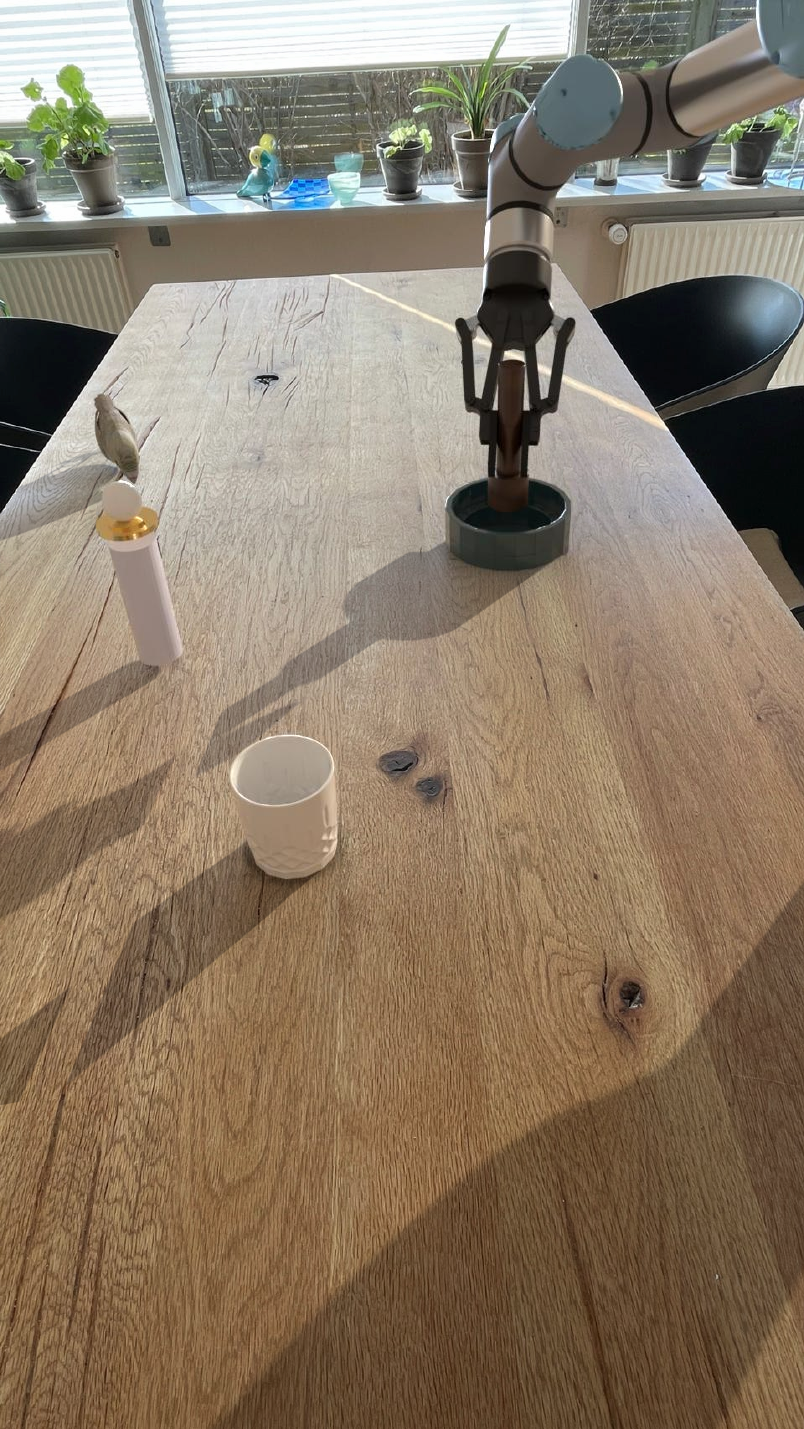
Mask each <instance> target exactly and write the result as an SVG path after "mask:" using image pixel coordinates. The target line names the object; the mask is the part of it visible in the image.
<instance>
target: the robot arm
mask: <svg viewBox="0 0 804 1429" xmlns="http://www.w3.org/2000/svg"><path fill="white" fill-rule="evenodd" d="M803 98H804V0H756V18H754V19H752V20H750V21H748V22H746V23H744V24H742V25H740V26H738V27H736V28H734V29H732V30H730V31H729V32H726V33H724V34H723V35H721V36H719V37H717V38H715V39H714V40H713V39H712V41H709V42H708V43H706V44H703V45H702V46H699V47H698V48H696V49H693V50H692V51H690V52H688V53H687V54H685V55H683V56H681V57H679V58H678V59H675V60H673V61H672V62H669V63H667V64H665V65H662V66H660V67H655V68H649V69H643V70H636V71H626V72H616V71H615V70H614V69H613V67H612V66H611V65H610V64H609V63H608V62H607V61H605V60H604V59H602V58H600V59H597V58H595V57H593V56H592V55H591V54H588V53H578V54H575V55H572V56H569V57H568V58H566V59H565V60H563V61H562V62H561V63H560V64H559V66H558V67H557V68H556V70H555V71H554V72H553V73H552V74H551V76H550V77H549V78H547V80H546V81H545V83H543V85H541V87H540V88H539V91H538V92H537V95H536V97H535V98H534V100H533V102H532V104H530V107H529V108H528V110H527V111H526V113H519V114H515V115H513V116H511V117H510V118H509V119H508V120H507V121H501V122H500V124H498V126H497V127H496V128H495V130H494V131H493V134H492V137H491V140H490V141H491V142H490V149H489V154H488V159H487V164H488V165H487V175H488V176H487V179H488V180H487V198H486V199H487V200H486V220H485V221H486V223H485V234H484V253H483V254H484V256H483V262H484V267H483V275H482V276H483V278H482V292H481V303H480V305H479V306H478V308H477V310H476V314H475V315H472V316H471V317H469V318H466V319H465V318H464V317H458V318H456V319H455V321H454V326H455V327H454V328H455V335H456V337H457V340H458V342H459V344H460V347H461V363H462V383H463V384H462V385H463V386H462V387H463V401H464V402H463V403H464V409H465V411H466V413H473V414H476V415H478V417H479V426H478V441H479V443H480V444H479V445H481V446H488V450H487V452H488V454H487V457H488V458H487V478H488V477H495V470H496V456H497V415H498V409H494V405H495V400H496V394H497V392H498V365H499V363H500V362H501V361H504V357H505V353H506V352H509V351H512V350H515V351H520V352H523V360H524V361H523V362H524V363H525V381H526V390H527V399H528V409H529V410H528V409H524V410H523V428H522V449H521V470H520V478H527V473H528V469H529V452H530V451H529V449H530V447H534V446H535V447H538V446H539V444H540V440H541V424H542V423H541V422H542V418H543V417H544V415H547V414H555V413H556V412H557V411H558V409H559V403H560V402H559V401H560V396H561V395H560V394H561V388H562V383H563V382H562V381H563V375H564V368H565V363H566V362H565V361H566V355H567V348H568V347H569V346H570V343H571V342H572V339H573V338H574V336H575V332H576V324H577V323H576V319H575V318H574V317H572V316H570V317H567V318H566V319H565V318H563V317H561V316H559V315H557V314H556V313H555V312H556V311H555V309H554V307H553V305H552V302H551V300H552V279H553V267H552V264H553V254H554V238H555V236H554V235H555V212H556V198H557V195H558V193H559V192H560V190H561V189H562V188H563V186H565V185H566V184H567V182H568V181H569V180H570V179H571V177H572V176H573V175H574V174H576V172H577V170H578V169H579V168H580V167H581V166H583V165H586V164H591V163H597V162H602V161H610V160H614V159H620V158H621V159H622V158H627V157H633V156H638V155H644V154H645V155H646V154H652V153H658V152H659V153H660V152H666V151H680V150H681V151H682V150H686V149H690V148H694V147H696V146H699V145H702V144H705V143H708V142H709V141H711V140H712V139H714V137H716V135H717V133H718V132H719V130H722V129H725V128H727V127H731V126H733V125H735V124H738V123H740V122H742V121H745V120H748V119H751V118H752V117H756V116H758V115H761V114H763V113H766V112H768V111H771V110H774V109H776V108H779V107H781V106H784V105H786V104H789V103H791V102H794V101H798V100H800V99H803ZM479 328H480V329H481V331H482V332H483V333H484V335H485V336H486V338H487V339H488V341H489V342H490V343H491V347H490V348H491V349H490V353H489V359H488V364H487V369H486V373H485V379H484V384H483V388H482V394H481V397H477V396H476V381H475V380H476V379H475V378H476V377H475V359H474V357H475V355H474V344H473V341H474V340H475V339H476V338H477V336H478V333H477V332H478V329H479ZM550 328H552V338H553V339H554V340H555V343H554V344H555V345H554V351H553V359H552V364H551V371H550V377H549V383H548V384H549V385H548V392H547V397H544V398H542V394H541V385H540V376H539V375H540V374H539V368H538V367H539V366H538V357H537V344H538V343H539V341H540V340H541V339H542V338H543V337H544V335H545V334H546V333H547V332H548V331H549V329H550Z"/></svg>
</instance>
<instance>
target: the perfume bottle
mask: <svg viewBox="0 0 804 1429" xmlns="http://www.w3.org/2000/svg"><path fill="white" fill-rule="evenodd" d="M142 498H143V497H142V495H141V492H140V491H139V489H138V488H137V487H136V486H135V485H133V483H131V482H128V481H126V480H117V481H112V482H111V483H109V484H108V485H107V486H106V487H105V488H104V489H103V490H102V494H101V500H100V501H101V506H102V509H103V511H104V514H103V515H101V516H100V517H99V518H98V519H97V520H96V523H95V529H96V532H97V535H98V536H99V537H100V538H101V539H103V540H106V541H107V547H108V551H109V554H110V558H111V561H112V565H113V569H114V573H115V576H116V580H117V583H118V587H119V590H120V594H121V597H122V601H123V606H124V609H125V612H126V616H127V619H128V622H129V626H130V630H131V633H132V637H133V641H134V644H135V649H136V651H137V655H138V658H139V661H140V662H141V663H143V664H144V665H147V666H151V667H159V666H164V665H165V666H166V665H168V664H170V663H174V661H177V659H179V658H180V657H181V656H182V654H183V651H184V648H183V643H182V640H181V636H180V631H179V627H178V622H177V619H176V614H175V610H174V606H173V601H172V598H171V594H170V588H169V584H168V581H167V577H166V573H165V568H164V564H163V560H162V559H163V556H162V552H161V547H160V543H159V539H160V536H161V534H158V536H157V535H156V533H155V530H157V528H158V527H159V525H160V520H159V515H158V512H156V511H155V509H152V508H150V507H147V506H143V499H142Z"/></svg>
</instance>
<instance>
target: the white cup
mask: <svg viewBox="0 0 804 1429" xmlns="http://www.w3.org/2000/svg"><path fill="white" fill-rule="evenodd" d="M335 772H336V771H335V761H334V758H333V756H332V754H331V752H330V750H329V749H328V748H327V747H326V746H325V745H324V744H322V743H321V742H319V741H317V740H316V739H313V738H310V737H308V736H304V735H298V734H282V735H274V736H269V737H267V738H263V739H261V740H258V741H255V742H254V743H252V744H250V745H249V746H247V747H246V748H244V749H243V750H242V751H241V752H240V753H238V755H237V756H235V758H234V760H233V762H232V763H231V765H230V768H229V772H228V782H229V787H230V789H231V793H232V797H233V799H234V803H235V806H236V810H237V813H238V816H239V819H240V823H241V826H242V830H243V834H244V836H245V839H246V842H247V846H248V848H249V849H250V851H251V853H252V856H253V858H254V862H255V865H256V866H257V867H259V869H261V870H262V871H263V872H265V873H266V874H267V875H269V876H272V877H276V878H279V879H284V880H290V879H300V878H307V877H309V876H311V875H313V874H316V873H317V872H320V871H321V870H323V869H324V868H325V867H326V866H327V865H328V863H330V861H332V859H333V858H334V857H335V854H336V850H337V846H338V832H339V831H338V830H339V829H338V828H339V826H338V823H339V822H338V803H337V789H336V788H337V787H336V775H335V774H336V773H335Z"/></svg>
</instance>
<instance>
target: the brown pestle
mask: <svg viewBox="0 0 804 1429" xmlns="http://www.w3.org/2000/svg"><path fill="white" fill-rule="evenodd" d="M525 383H526V370H525V361H523V360H521V359H520V360H519V359H512V358H511V359H505V360H504V359H503V361H501V362H500V363H499V365H498V386H497V410H498V415H497V450H496V470H495V477H488V476H487V478H488V505H489V506H490V507H491V508H492V509H494V510H497V511H501V512H514V511H519V510H521V509H523V508H525V507H526V506H527V504H528V486H529V478H530V469H529V468H528V473H527V478H520V470H521V449H522V428H523V410H525V409H524V408H525V406H524V405H525V385H526V384H525Z"/></svg>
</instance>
